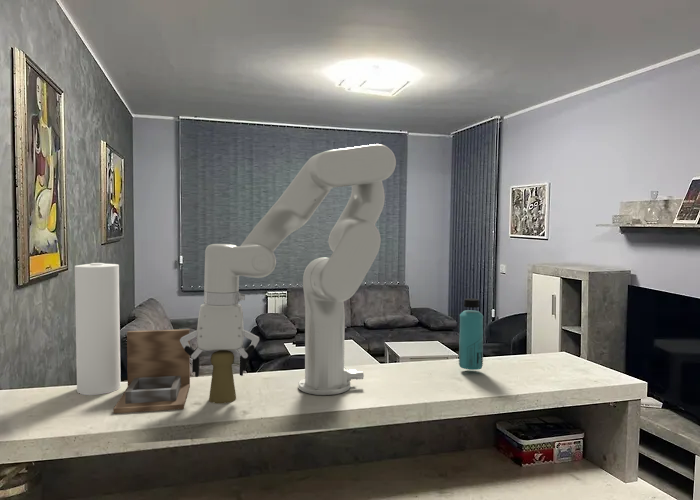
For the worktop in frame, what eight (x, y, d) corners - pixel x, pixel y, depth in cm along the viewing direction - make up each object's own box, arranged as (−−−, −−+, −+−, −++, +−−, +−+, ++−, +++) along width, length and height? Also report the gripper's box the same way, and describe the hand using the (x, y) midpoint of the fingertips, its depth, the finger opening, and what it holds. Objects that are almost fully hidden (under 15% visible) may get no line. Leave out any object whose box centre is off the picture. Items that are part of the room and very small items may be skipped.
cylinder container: (82, 397, 120) (80, 265, 118) (72, 387, 127) (70, 262, 125) (125, 389, 126) (124, 263, 124) (114, 380, 133) (112, 261, 131)
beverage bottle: (478, 376, 139) (480, 301, 137) (454, 372, 142) (455, 299, 141) (486, 371, 144) (487, 298, 143) (462, 367, 148) (464, 296, 146)
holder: (189, 386, 129) (189, 329, 128) (183, 409, 113) (183, 344, 112) (128, 389, 126) (127, 331, 125) (113, 413, 110) (112, 347, 109)
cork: (233, 403, 117) (233, 354, 116) (205, 403, 116) (205, 354, 116) (238, 394, 123) (238, 347, 122) (212, 394, 123) (212, 347, 122)
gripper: (259, 297, 124) (257, 369, 125) (182, 296, 120) (181, 371, 121) (261, 301, 116) (259, 378, 117) (179, 301, 113) (177, 380, 114)
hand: (219, 374), depth 119 cm, fingers open, 9 cm apart
